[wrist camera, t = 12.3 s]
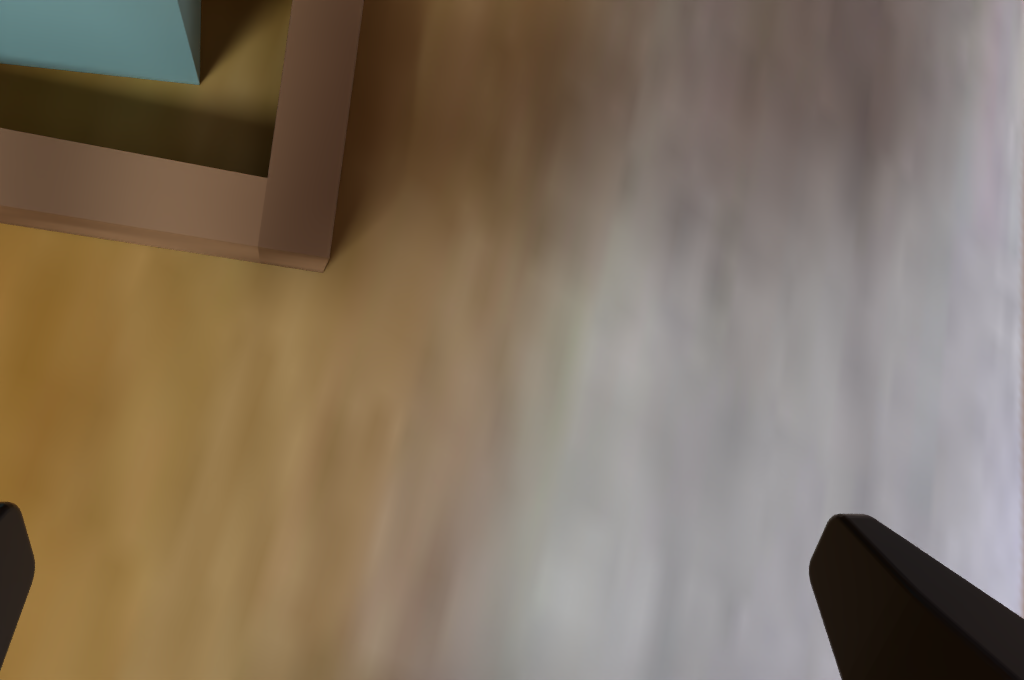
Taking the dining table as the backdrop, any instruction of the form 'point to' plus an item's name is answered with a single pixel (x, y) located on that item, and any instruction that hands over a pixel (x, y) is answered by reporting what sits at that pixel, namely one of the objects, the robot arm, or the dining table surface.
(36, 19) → the teal peg
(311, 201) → the square frame with bar
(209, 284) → the dining table surface
